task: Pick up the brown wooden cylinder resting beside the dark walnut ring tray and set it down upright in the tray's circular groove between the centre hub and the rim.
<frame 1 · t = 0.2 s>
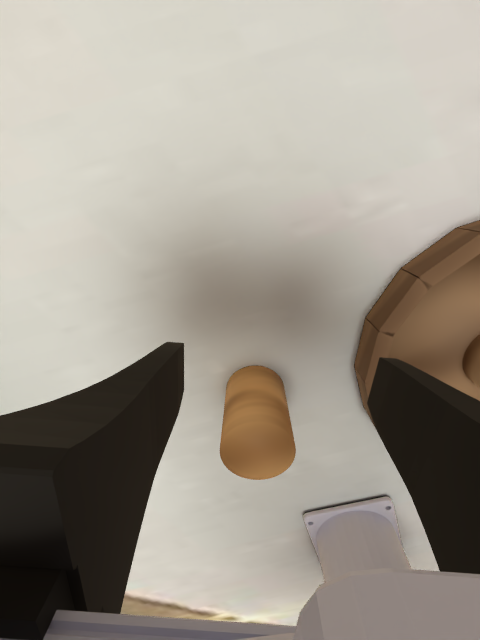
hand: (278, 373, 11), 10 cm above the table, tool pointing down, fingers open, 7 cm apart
brown wooden cylinder: (255, 390, 23), on the table
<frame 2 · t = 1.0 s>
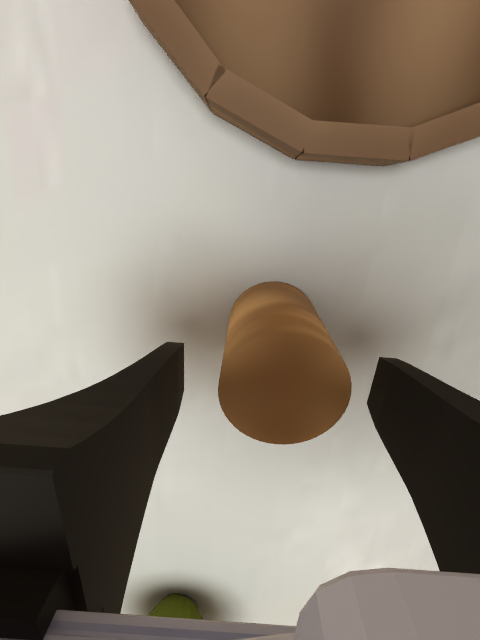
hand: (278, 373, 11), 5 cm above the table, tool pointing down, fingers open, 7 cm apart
apple: (179, 601, 26), on the table
brown wooden cylinder: (272, 323, 16), on the table
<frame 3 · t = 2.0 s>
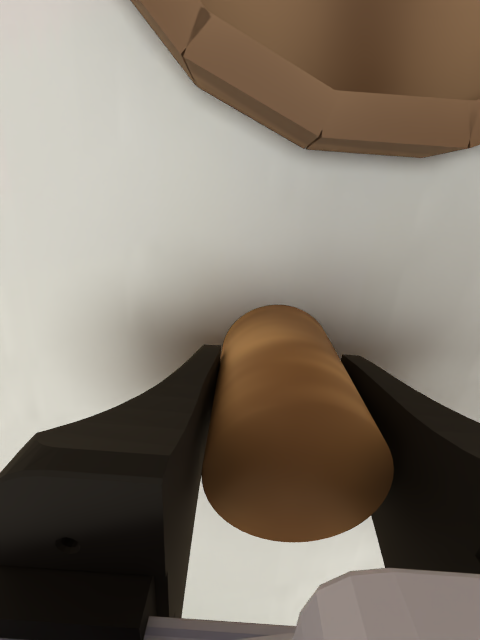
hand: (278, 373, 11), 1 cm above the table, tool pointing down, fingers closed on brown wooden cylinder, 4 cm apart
brown wooden cylinder: (275, 355, 13), on the table, touching gripper
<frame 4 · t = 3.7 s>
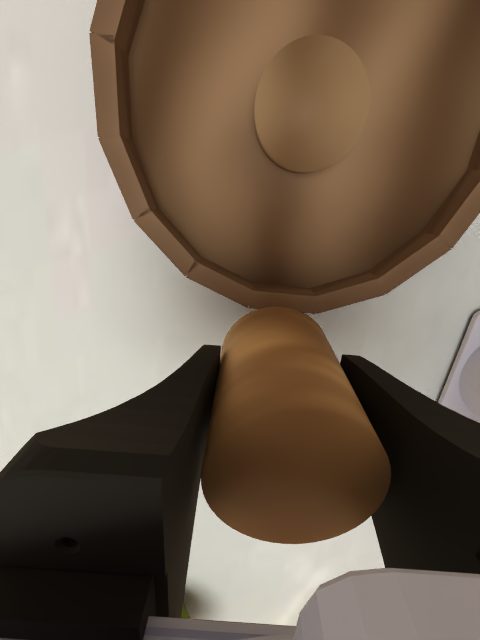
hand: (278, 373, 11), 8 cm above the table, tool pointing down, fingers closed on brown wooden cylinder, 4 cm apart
ring tray: (303, 119, 15), on the table
brown wooden cylinder: (274, 356, 13), point 7 cm above the table, touching gripper
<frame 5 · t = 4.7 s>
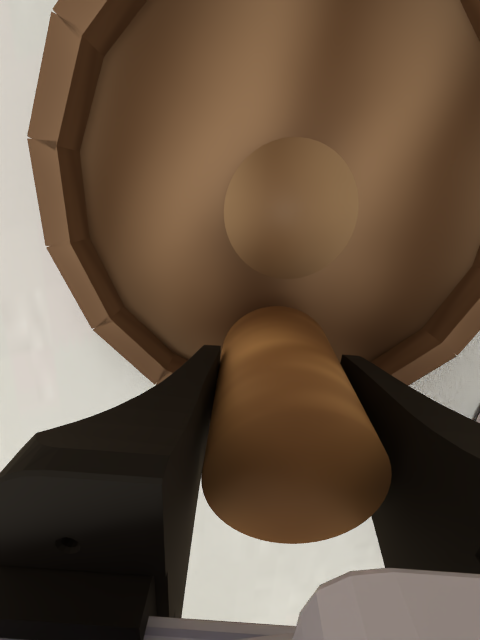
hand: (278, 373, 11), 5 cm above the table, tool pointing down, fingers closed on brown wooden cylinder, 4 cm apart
ring tray: (284, 211, 13), on the table
brown wooden cylinder: (274, 355, 13), point 3 cm above the table, touching gripper
when the fingers open (3 cm above the table, at t = 5.4 s): brown wooden cylinder drops 1 cm, resting on ring tray.
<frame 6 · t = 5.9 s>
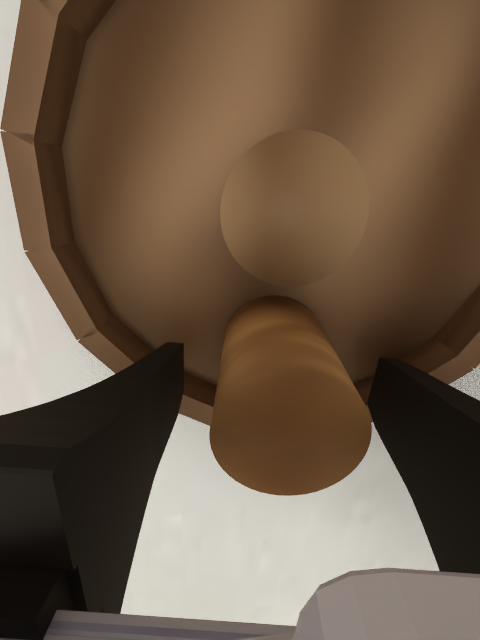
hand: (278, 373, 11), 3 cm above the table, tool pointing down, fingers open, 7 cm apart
ring tray: (286, 211, 12), on the table
brown wooden cylinder: (272, 341, 14), point 1 cm above the table, touching ring tray
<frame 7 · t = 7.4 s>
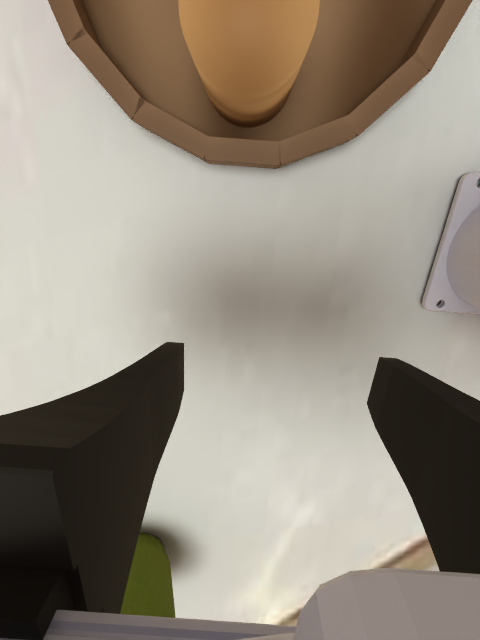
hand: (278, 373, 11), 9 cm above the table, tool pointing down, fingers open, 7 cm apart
apple: (147, 540, 30), on the table
brown wooden cylinder: (248, 75, 15), point 1 cm above the table, touching ring tray
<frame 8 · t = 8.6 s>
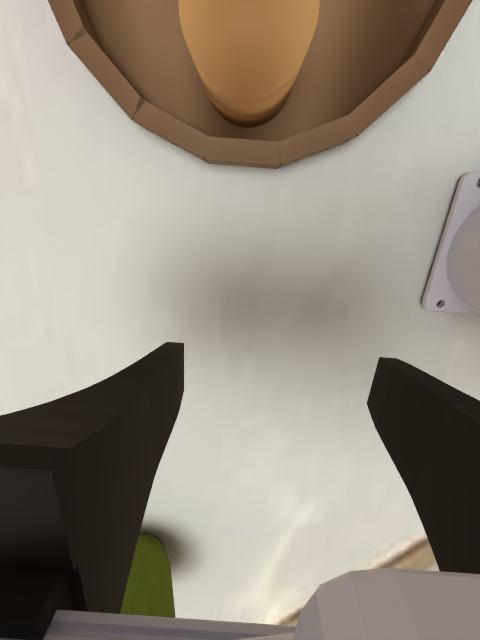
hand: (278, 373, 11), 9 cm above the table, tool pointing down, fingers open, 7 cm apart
apple: (147, 540, 30), on the table
brown wooden cylinder: (248, 75, 15), point 1 cm above the table, touching ring tray
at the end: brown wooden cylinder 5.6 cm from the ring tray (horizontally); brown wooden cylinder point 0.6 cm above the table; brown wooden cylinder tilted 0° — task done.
